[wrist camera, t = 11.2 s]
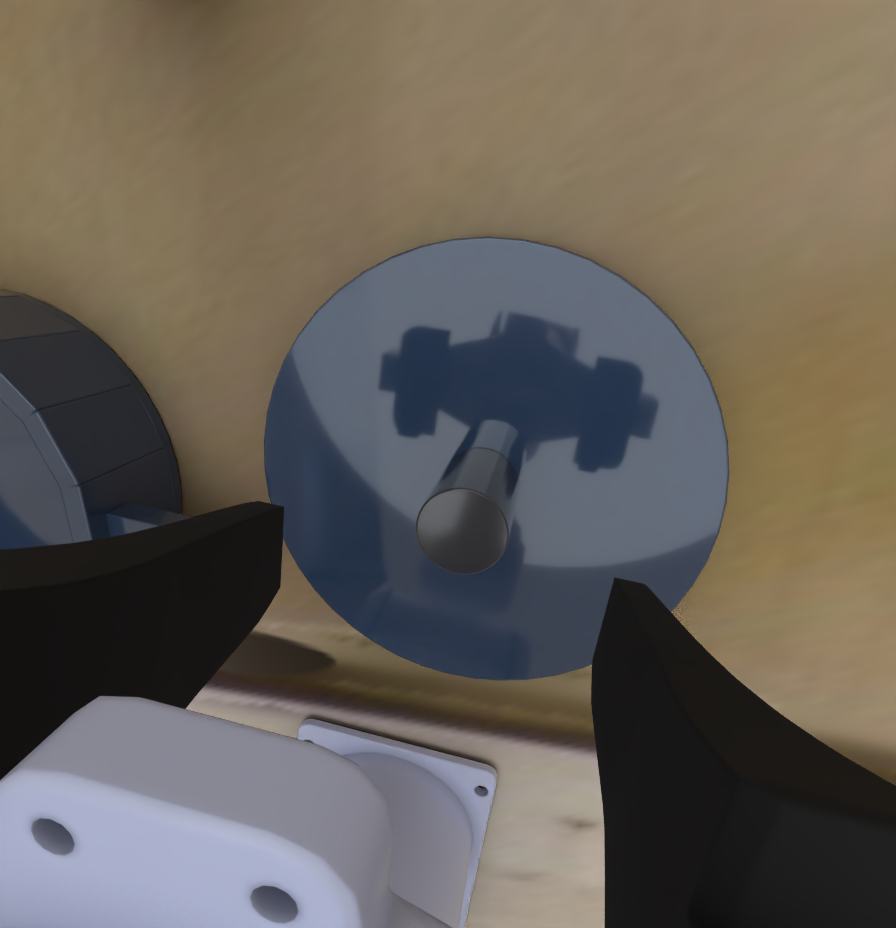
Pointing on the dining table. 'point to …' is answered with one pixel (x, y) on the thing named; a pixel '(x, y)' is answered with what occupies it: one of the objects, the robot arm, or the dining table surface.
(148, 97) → the dining table surface
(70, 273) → the dining table surface
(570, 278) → the lid
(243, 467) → the dining table surface
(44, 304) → the pot
